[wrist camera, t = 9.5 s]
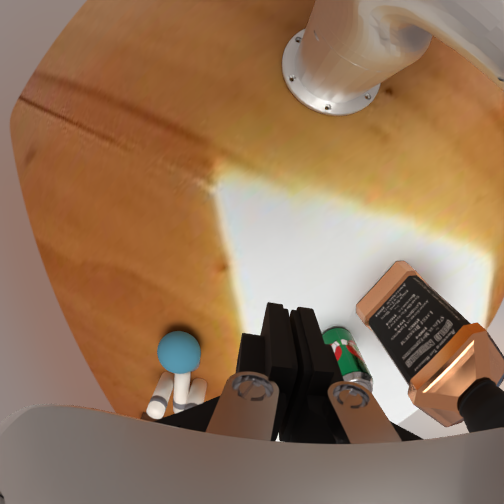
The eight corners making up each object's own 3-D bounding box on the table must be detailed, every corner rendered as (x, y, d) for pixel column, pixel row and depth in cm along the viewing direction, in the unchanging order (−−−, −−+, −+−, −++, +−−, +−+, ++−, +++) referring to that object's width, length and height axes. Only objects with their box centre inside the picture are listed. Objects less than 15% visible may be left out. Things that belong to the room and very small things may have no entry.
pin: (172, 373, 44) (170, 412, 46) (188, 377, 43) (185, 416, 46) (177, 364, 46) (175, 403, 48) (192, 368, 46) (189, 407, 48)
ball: (153, 373, 42) (167, 340, 46) (193, 386, 41) (205, 351, 46) (148, 352, 38) (164, 317, 42) (193, 366, 37) (206, 329, 42)
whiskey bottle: (438, 298, 42) (575, 436, 11) (394, 345, 44) (493, 513, 13) (399, 256, 41) (569, 401, 10) (351, 308, 43) (455, 507, 12)
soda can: (318, 357, 45) (333, 412, 33) (317, 328, 44) (333, 380, 32) (351, 352, 45) (373, 404, 33) (351, 323, 43) (377, 372, 32)
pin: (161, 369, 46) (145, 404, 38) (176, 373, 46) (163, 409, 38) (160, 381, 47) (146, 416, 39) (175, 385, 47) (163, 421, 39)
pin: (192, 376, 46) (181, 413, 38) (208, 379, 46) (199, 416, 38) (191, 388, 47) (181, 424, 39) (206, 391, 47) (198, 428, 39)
